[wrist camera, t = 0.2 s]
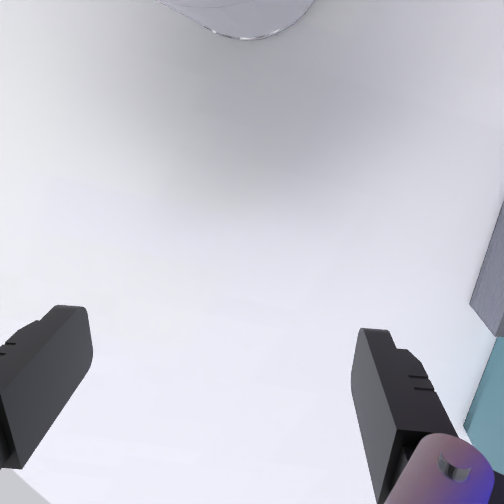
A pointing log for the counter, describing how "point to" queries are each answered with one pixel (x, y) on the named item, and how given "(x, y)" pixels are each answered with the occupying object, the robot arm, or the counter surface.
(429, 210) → the counter surface
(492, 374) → the bin
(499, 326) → the socket block
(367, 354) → the robot arm
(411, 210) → the counter surface
